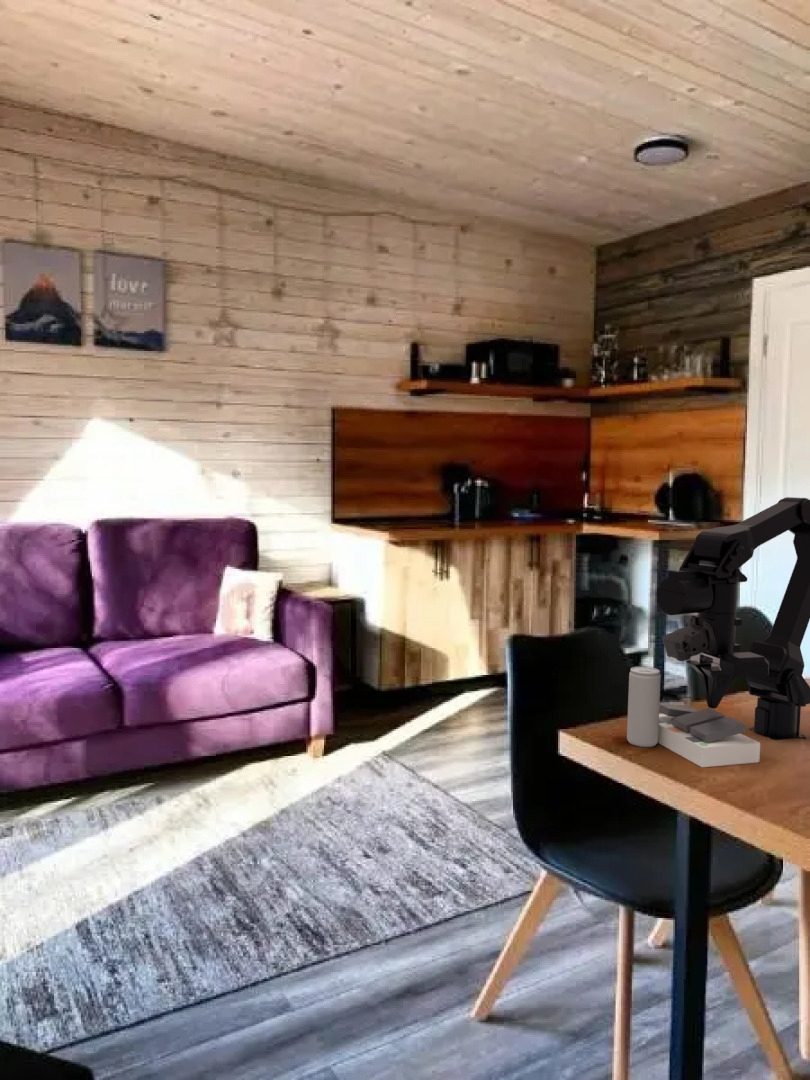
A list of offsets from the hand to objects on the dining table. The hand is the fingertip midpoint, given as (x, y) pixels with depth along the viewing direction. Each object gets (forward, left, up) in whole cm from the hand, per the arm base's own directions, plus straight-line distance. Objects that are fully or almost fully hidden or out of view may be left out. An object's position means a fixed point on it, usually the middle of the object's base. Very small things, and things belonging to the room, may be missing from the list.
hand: (712, 707), depth 136 cm
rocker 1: (+3, -5, -2) cm, 6 cm away
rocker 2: (+3, 0, -2) cm, 3 cm away
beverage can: (+10, -3, -6) cm, 13 cm away
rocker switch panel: (+3, 0, -6) cm, 7 cm away
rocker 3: (+3, +5, -2) cm, 6 cm away
